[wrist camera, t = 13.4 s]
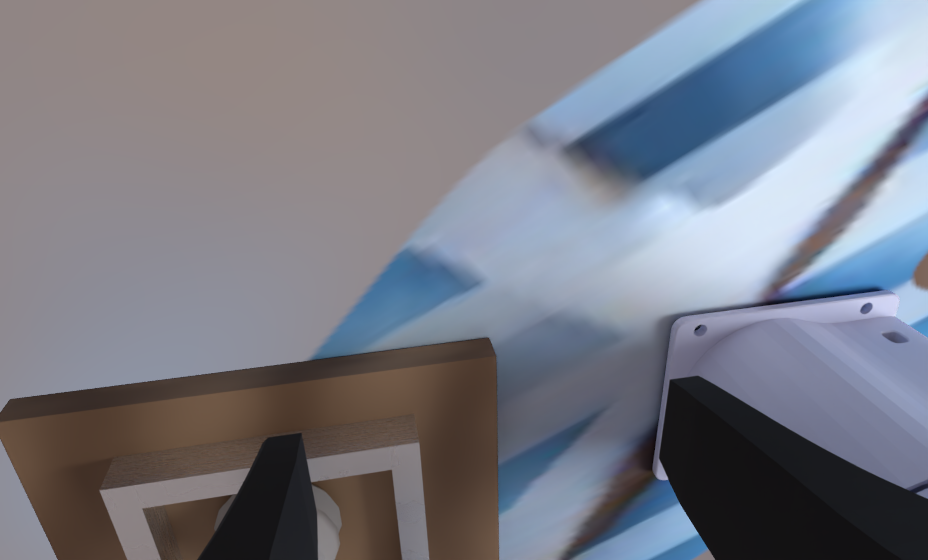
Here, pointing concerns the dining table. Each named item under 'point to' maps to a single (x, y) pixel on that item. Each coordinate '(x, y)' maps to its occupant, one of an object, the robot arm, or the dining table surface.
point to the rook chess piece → (326, 523)
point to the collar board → (239, 440)
